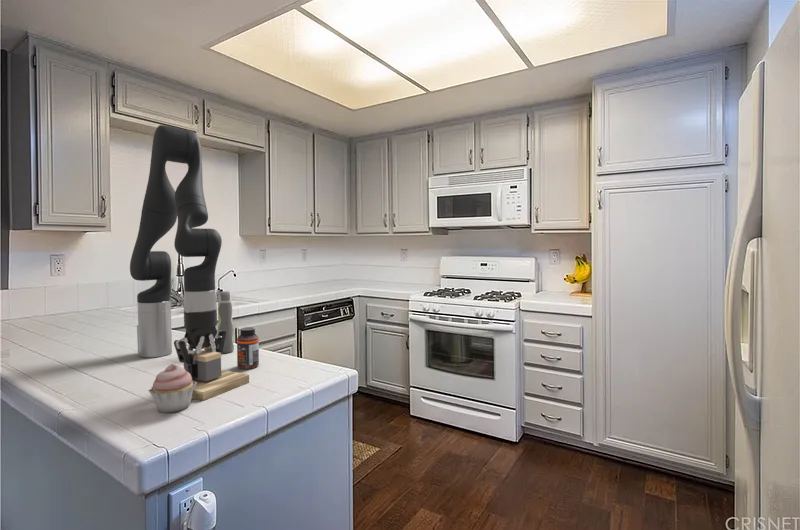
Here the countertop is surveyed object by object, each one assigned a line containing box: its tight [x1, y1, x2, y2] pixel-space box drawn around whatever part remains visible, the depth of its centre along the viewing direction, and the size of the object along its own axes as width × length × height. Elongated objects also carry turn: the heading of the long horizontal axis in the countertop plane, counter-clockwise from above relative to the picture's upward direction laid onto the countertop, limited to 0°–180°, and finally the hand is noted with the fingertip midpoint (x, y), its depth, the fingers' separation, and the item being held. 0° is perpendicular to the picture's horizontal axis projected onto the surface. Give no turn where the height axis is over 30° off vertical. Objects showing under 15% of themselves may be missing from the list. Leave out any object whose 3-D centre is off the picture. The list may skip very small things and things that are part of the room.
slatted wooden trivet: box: [191, 369, 250, 402], centre depth 107 cm, size 15×14×2 cm
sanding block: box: [183, 349, 222, 381], centre depth 107 cm, size 8×4×6 cm, turn 64°
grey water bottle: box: [217, 290, 235, 354], centre depth 139 cm, size 5×5×20 cm
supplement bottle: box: [236, 326, 260, 370], centre depth 123 cm, size 6×6×11 cm
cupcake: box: [147, 363, 197, 414], centre depth 93 cm, size 9×9×10 cm
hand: (202, 374), depth 107 cm, fingers closed on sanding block, 4 cm apart
